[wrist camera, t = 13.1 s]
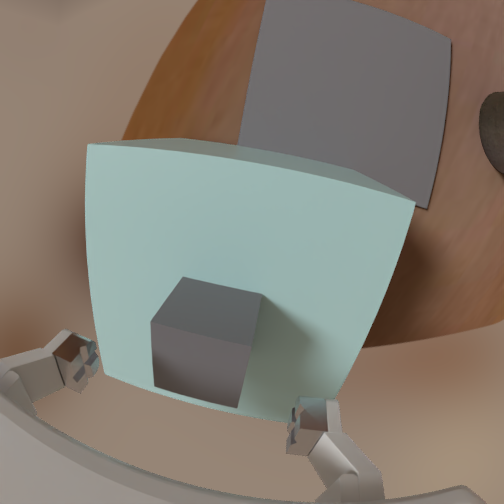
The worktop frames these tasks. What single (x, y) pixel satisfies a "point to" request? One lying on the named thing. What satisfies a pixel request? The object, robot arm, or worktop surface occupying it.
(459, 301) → the worktop surface
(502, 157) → the pillar candle
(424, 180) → the mat
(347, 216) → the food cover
